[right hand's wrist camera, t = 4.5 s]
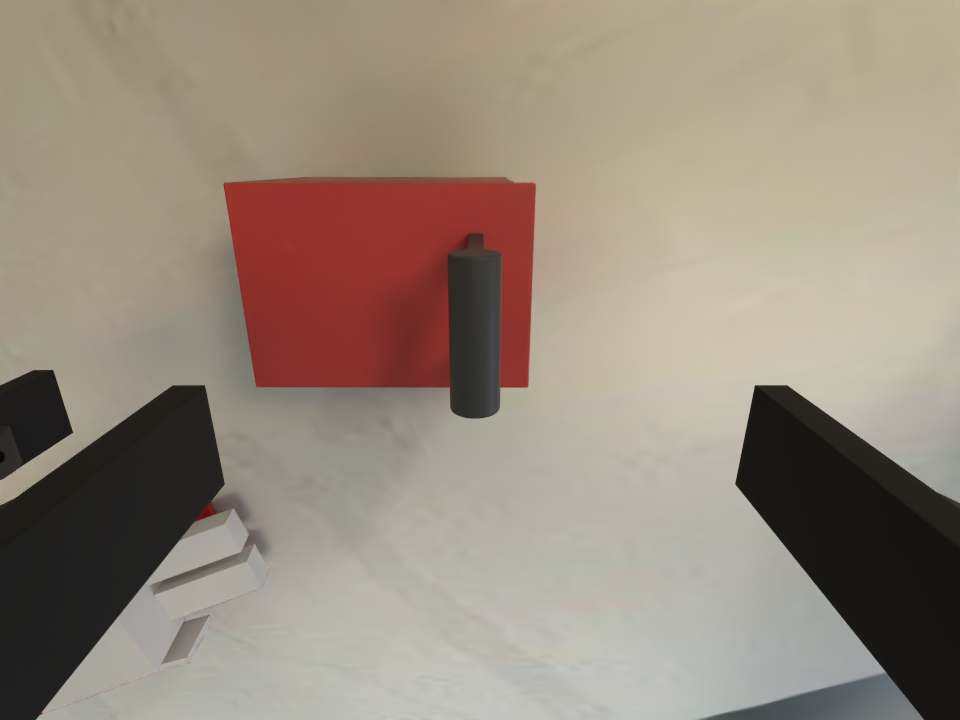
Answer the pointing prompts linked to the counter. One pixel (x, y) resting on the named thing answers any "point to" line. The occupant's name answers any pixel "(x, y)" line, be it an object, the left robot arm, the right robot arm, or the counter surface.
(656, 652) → the counter surface
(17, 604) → the right robot arm
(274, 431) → the counter surface
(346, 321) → the lid
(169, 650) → the toy
